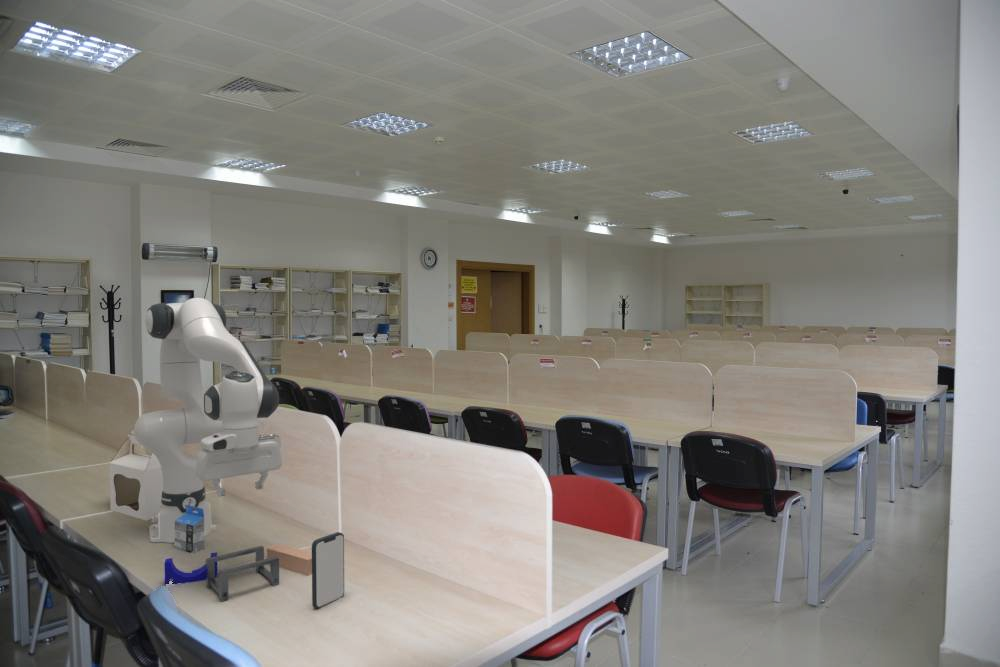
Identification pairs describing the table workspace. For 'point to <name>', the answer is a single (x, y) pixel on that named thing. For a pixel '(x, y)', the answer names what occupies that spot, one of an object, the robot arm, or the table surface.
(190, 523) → the label tape box
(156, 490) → the gable box
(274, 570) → the grey metal frame stand
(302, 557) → the salmon orange rectangular block
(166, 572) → the blue curved cradle stand
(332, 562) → the black smartphone
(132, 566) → the table surface
